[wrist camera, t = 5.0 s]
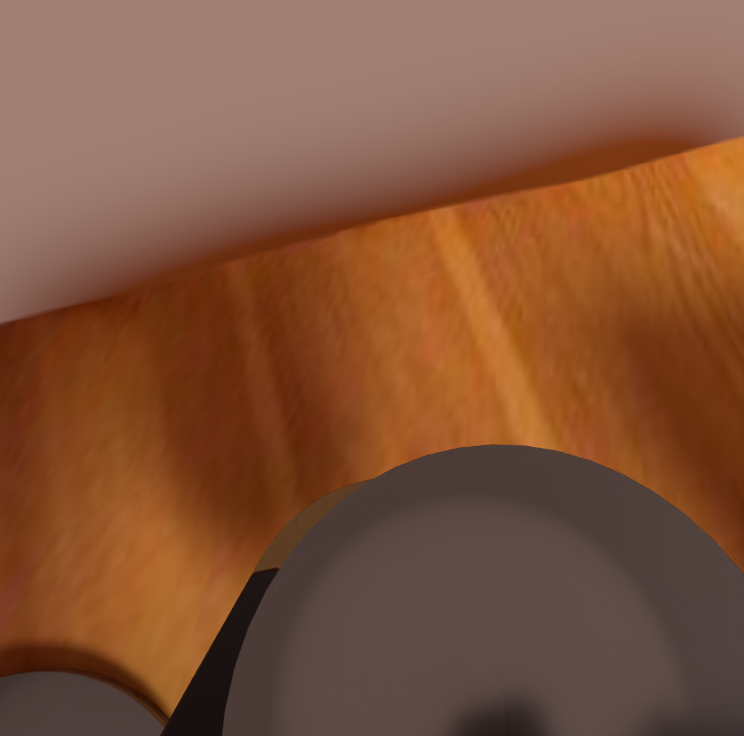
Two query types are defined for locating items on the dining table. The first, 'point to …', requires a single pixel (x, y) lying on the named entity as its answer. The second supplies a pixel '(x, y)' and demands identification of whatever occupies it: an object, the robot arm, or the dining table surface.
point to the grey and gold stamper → (493, 609)
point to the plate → (74, 706)
